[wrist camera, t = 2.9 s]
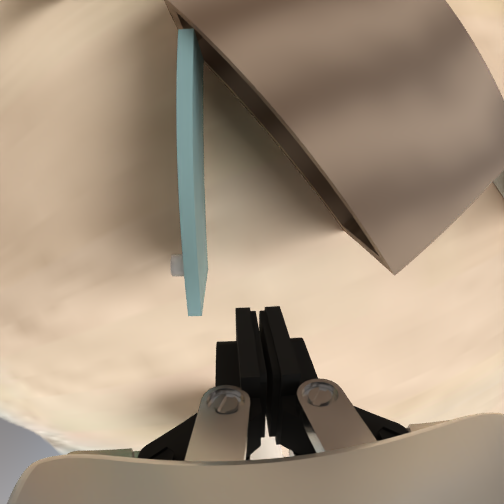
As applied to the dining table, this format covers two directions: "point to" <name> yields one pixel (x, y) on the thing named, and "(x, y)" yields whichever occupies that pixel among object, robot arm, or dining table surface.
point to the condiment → (500, 183)
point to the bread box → (364, 106)
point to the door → (191, 171)
